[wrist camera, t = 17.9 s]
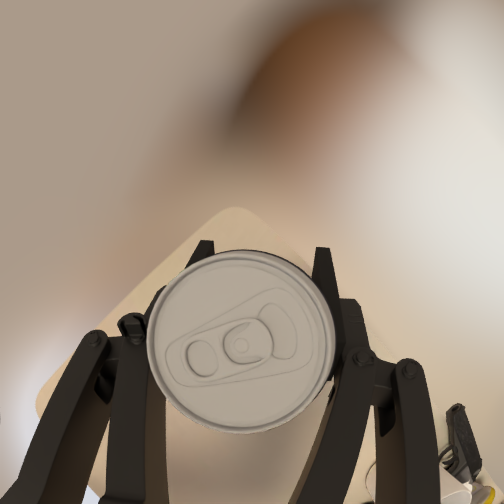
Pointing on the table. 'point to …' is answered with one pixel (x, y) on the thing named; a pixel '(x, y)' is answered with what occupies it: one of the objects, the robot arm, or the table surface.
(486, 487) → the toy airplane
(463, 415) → the handgun
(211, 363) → the beverage can
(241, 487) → the table surface
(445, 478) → the mug
